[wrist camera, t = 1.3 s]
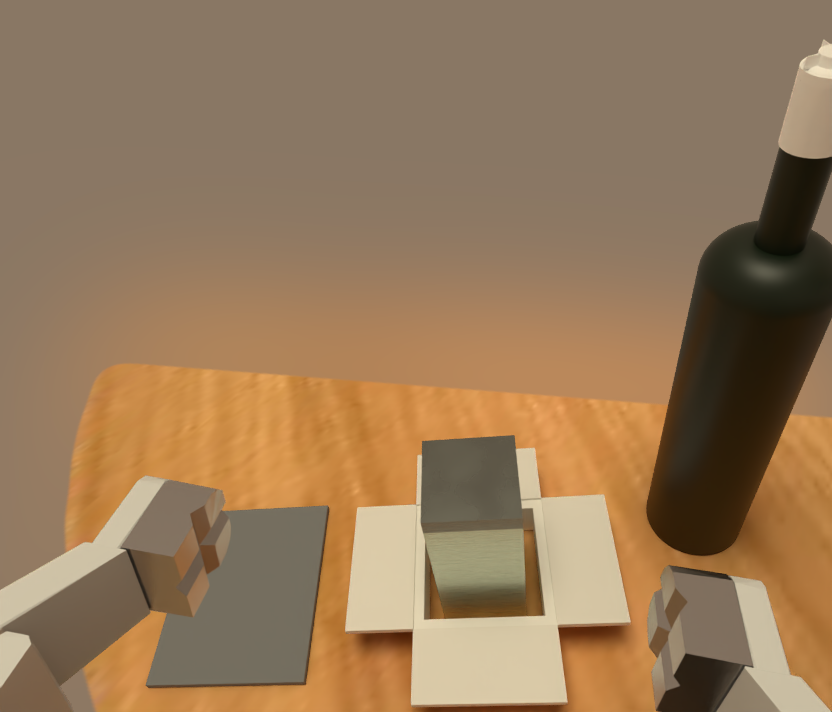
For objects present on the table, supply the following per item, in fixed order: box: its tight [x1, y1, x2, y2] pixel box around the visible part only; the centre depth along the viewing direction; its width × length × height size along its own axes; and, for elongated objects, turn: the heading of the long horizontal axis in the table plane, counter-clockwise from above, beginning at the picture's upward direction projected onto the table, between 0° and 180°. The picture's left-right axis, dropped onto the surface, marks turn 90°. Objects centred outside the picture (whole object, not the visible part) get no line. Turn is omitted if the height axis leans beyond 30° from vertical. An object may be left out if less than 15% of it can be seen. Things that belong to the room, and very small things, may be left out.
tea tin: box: [421, 435, 527, 619], centre depth 37 cm, size 5×5×12 cm
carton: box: [345, 448, 631, 707], centre depth 41 cm, size 16×16×3 cm
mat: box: [146, 506, 329, 688], centre depth 43 cm, size 10×12×1 cm
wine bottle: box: [647, 40, 832, 555], centre depth 32 cm, size 6×6×30 cm
